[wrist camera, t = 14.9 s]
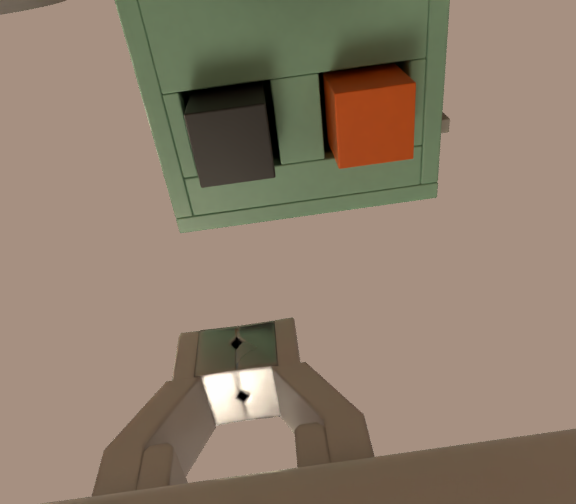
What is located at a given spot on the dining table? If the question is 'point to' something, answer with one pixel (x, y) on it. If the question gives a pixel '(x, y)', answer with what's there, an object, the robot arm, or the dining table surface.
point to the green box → (286, 96)
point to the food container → (23, 5)
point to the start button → (370, 115)
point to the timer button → (230, 134)
